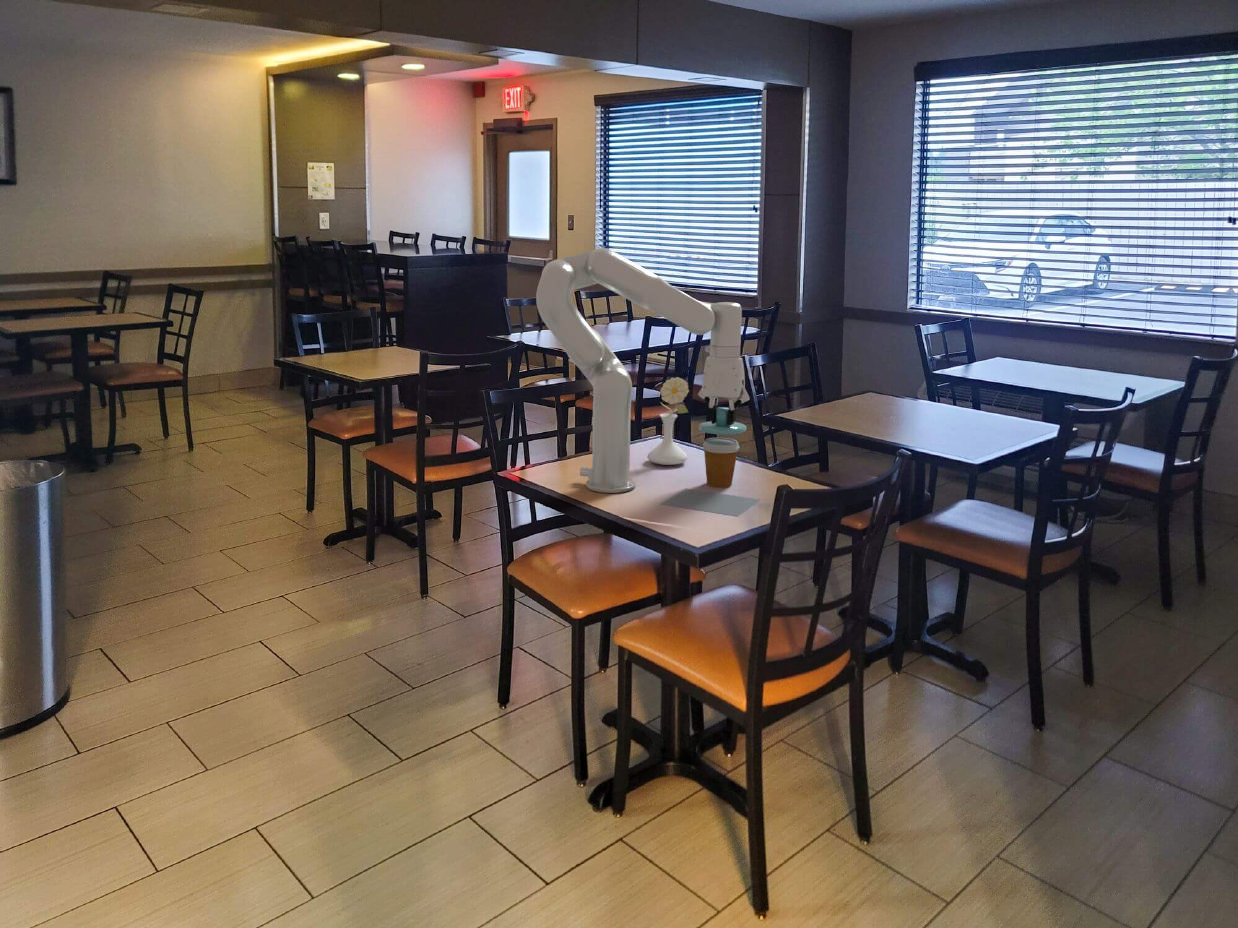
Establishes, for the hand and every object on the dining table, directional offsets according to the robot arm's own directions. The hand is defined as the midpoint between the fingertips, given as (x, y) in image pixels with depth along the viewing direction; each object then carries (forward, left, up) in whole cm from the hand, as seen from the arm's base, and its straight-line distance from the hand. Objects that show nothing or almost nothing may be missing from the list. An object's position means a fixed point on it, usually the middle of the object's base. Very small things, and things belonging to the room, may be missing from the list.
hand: (722, 423), depth 254 cm
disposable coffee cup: (0, 0, -17) cm, 17 cm away
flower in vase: (-21, +15, -17) cm, 31 cm away
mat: (+4, -16, -17) cm, 24 cm away
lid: (0, 0, -2) cm, 2 cm away
